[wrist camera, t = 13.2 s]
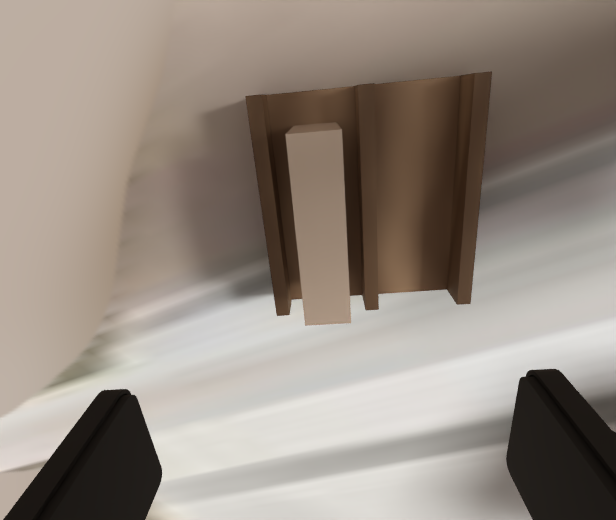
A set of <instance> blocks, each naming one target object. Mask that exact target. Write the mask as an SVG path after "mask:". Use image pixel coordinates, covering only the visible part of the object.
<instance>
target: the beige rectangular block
mask: <svg viewBox="0 0 616 520" xmlns="http://www.w3.org/2000/svg"><path fill="white" fill-rule="evenodd" d="M285 135H286V145H287V154H288V164H289V174H290V183H291V193H292V202H293V212H294V222H295V231H296V241H297V251H298V260H299V270H300V279H301V289H302V299H303V308H304V318H305V326H306V325H323V324H341V323H351V312H350V291H349V269H348V248H347V227H346V205H345V184H344V163H343V142H342V129H341V127H340V126H339V125H338V123H337V122H330V123H319V124H308V125H296V126H293V127H292V128H291V129H290V130H289V131H288V132H287V133H286V134H285Z"/></svg>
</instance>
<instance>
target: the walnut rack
mask: <svg viewBox="0 0 616 520" xmlns="http://www.w3.org/2000/svg"><path fill="white" fill-rule="evenodd" d="M491 77H492V72H483V73H474V74H468V75H462V76H453V77H443V78H433V79H423V80H413V81H403V82H393V83H383V84H374V83H373V84H363V85H357V86H353V87H342V88H332V89H322V90H312V91H302V92H292V93H282V94H272V95H253V96H246V103H247V110H248V117H249V124H250V131H251V138H252V145H253V152H254V159H255V166H256V173H257V180H258V187H259V194H260V201H261V208H262V215H263V222H264V229H265V236H266V243H267V250H268V257H269V264H270V271H271V278H272V285H273V292H274V299H275V306H276V313H277V316H282V315H289V314H290V307H291V300H292V299H302V289H301V279H300V270H299V260H298V251H297V241H296V231H295V222H294V212H293V202H292V193H291V183H290V174H289V164H288V154H287V145H286V135H285V134H286V133H287V132H288V131H289V130H290V129H291V128H292V127H293V126H296V125H308V124H319V123H330V122H337V123H338V125H339V126H340V127H341V129H342V142H343V163H344V184H345V205H346V227H347V248H348V269H349V291H350V296H352V295H362V296H363V300H364V305H365V309H366V310H378V309H379V306H378V294H383V293H398V292H413V291H429V290H444V289H447V290H448V292H449V293H450V295H451V296H452V298H453V299H454V301H455V302H456V304H470V302H471V292H472V281H473V270H474V259H475V249H476V238H477V227H478V216H479V206H480V195H481V184H482V173H483V163H484V152H485V141H486V130H487V120H488V109H489V98H490V87H491Z"/></svg>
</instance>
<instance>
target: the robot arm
mask: <svg viewBox="0 0 616 520" xmlns="http://www.w3.org/2000/svg"><path fill="white" fill-rule="evenodd" d="M506 460H507V466H508V470H509V472H510V475H511V477H512V479H513V481H514V483H515V485H516V487H517V489H518V491H519V493H520V495H521V497H522V499H523V501H524V503H525V505H526V507H527V509H528V511H529V513H530V515H531V517H532V519H533V520H616V433H615V432H614V431H612V430H611V429H610V428H609V427H608V425H607V424H606V423H605V422H604V421H603V420H602V419H601V417H600V416H599V415H598V414H597V413H596V412H595V411H594V409H593V408H592V407H591V406H590V405H589V404H588V403H587V401H586V400H585V399H584V398H583V397H582V396H581V394H580V393H579V392H578V391H577V390H576V389H575V388H574V386H573V385H572V384H571V383H570V382H569V381H568V380H567V378H566V377H565V376H564V375H563V374H562V373H561V372H560V371H559V370H557V369H544V370H529V371H528V372H527V374H526V377H521V378H520V381H519V385H518V391H517V397H516V403H515V409H514V415H513V421H512V427H511V433H510V439H509V445H508V451H507V458H506ZM161 478H162V468H161V465H160V462H159V459H158V456H157V454H156V451H155V448H154V445H153V442H152V439H151V437H150V434H149V431H148V428H147V425H146V422H145V419H144V417H143V414H142V411H141V408H140V405H139V402H138V400H137V397H136V396H135V395H131V393H130V391H129V390H127V389H119V390H104V391H101V392H100V393H99V394H98V395H97V396H96V398H95V399H94V400H93V402H92V403H91V404H90V406H89V407H88V408H87V410H86V411H85V412H84V414H83V415H82V416H81V418H80V419H79V420H78V422H77V423H76V424H75V426H74V427H73V428H72V430H71V431H70V432H69V433H68V435H67V436H66V437H65V439H64V440H63V441H62V443H61V444H60V445H59V447H58V448H57V449H56V451H55V452H54V453H53V455H52V456H51V457H50V459H49V460H48V461H47V463H46V464H45V465H44V467H43V468H42V469H41V471H40V472H39V473H38V474H37V476H36V477H35V478H34V480H33V481H32V482H31V484H30V485H29V487H28V488H27V489H26V490H25V492H24V493H23V494H22V496H21V497H20V498H19V500H18V501H17V502H16V504H15V505H14V506H13V508H12V509H11V510H10V512H9V513H8V515H7V516H6V517H5V518H4V519H3V520H145V519H146V516H147V514H148V511H149V509H150V507H151V504H152V502H153V500H154V497H155V495H156V492H157V490H158V488H159V485H160V482H161Z"/></svg>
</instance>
